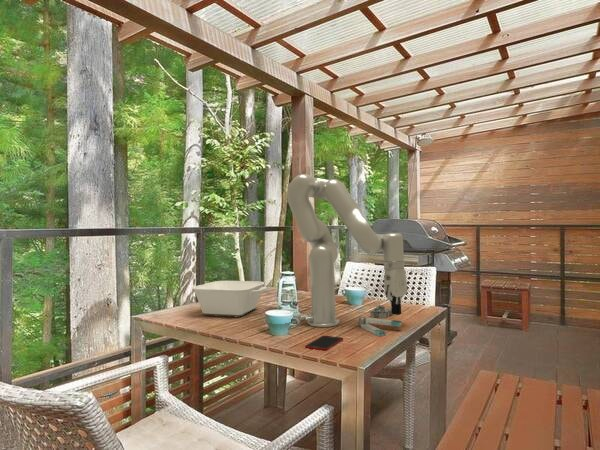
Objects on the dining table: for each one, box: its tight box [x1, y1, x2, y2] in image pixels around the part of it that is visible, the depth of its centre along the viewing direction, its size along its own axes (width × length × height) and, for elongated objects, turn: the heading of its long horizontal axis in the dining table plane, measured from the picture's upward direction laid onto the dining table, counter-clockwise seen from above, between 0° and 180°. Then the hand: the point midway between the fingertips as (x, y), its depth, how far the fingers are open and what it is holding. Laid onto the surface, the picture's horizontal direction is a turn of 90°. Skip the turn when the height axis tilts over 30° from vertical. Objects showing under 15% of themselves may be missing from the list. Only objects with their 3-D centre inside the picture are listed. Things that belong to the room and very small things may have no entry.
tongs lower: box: [358, 316, 386, 337], centre depth 155 cm, size 16×3×3 cm, turn 19°
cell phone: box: [304, 335, 344, 352], centre depth 139 cm, size 8×15×1 cm, turn 152°
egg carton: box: [369, 304, 394, 319], centre depth 179 cm, size 11×8×4 cm
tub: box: [192, 280, 268, 318], centre depth 191 cm, size 34×27×13 cm
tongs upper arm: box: [366, 317, 403, 328], centre depth 157 cm, size 13×3×2 cm, turn 59°
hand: (396, 314), depth 159 cm, fingers closed
